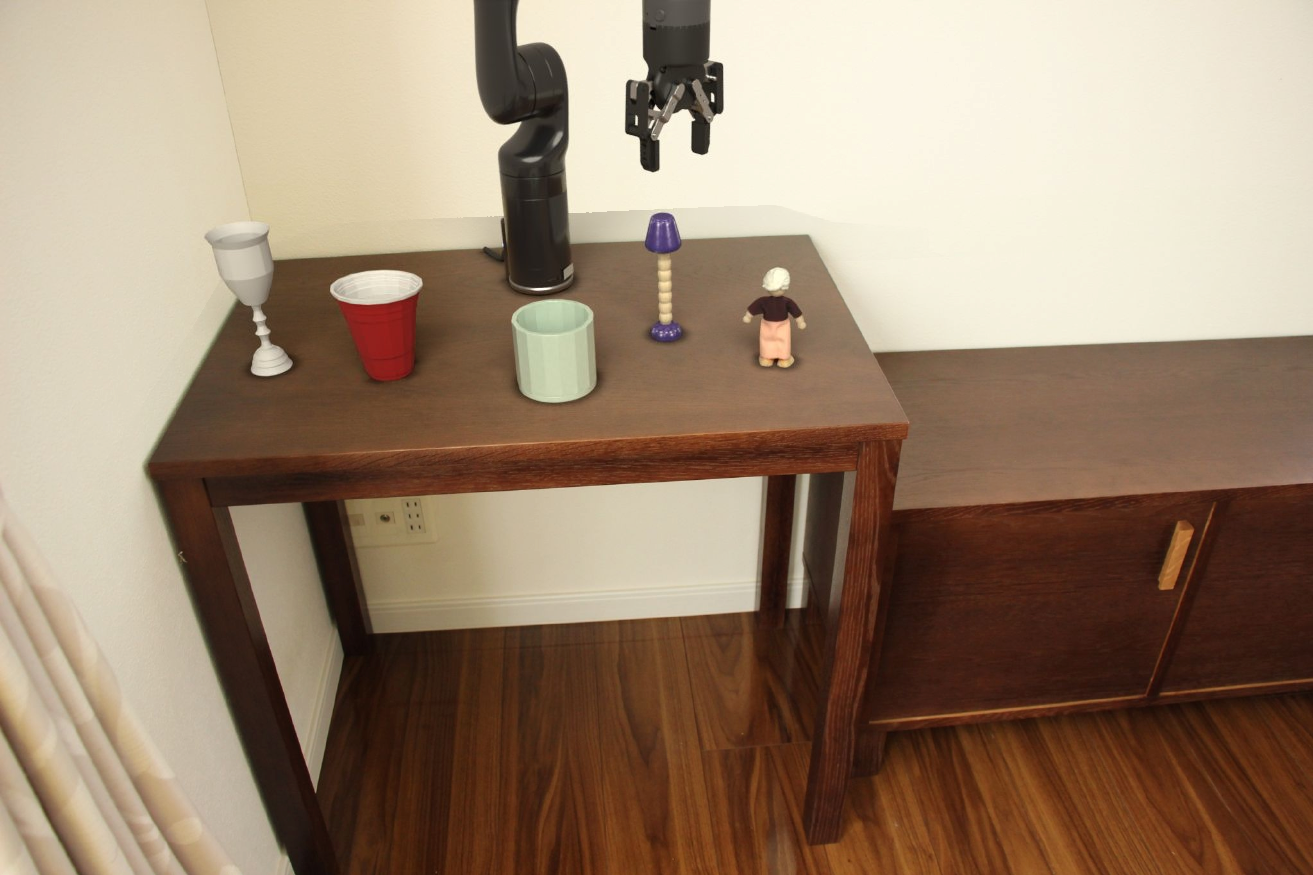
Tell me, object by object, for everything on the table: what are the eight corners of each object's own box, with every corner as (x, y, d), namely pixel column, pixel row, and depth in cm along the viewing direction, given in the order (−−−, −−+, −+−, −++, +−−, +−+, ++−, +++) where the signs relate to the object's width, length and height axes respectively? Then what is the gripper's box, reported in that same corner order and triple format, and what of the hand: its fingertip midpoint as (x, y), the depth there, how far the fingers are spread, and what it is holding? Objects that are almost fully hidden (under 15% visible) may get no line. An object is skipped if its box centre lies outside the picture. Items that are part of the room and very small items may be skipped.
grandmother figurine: (800, 354, 127) (807, 262, 120) (803, 368, 124) (811, 275, 117) (740, 354, 127) (744, 262, 120) (742, 369, 124) (746, 275, 117)
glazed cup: (502, 383, 121) (495, 317, 116) (561, 356, 127) (556, 292, 122) (554, 411, 116) (548, 343, 111) (612, 381, 121) (610, 315, 116)
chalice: (245, 384, 122) (207, 247, 112) (237, 361, 127) (200, 228, 117) (306, 370, 125) (274, 235, 115) (296, 348, 130) (264, 217, 120)
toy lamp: (678, 345, 129) (678, 223, 120) (643, 342, 130) (640, 221, 121) (684, 328, 133) (684, 209, 124) (650, 325, 134) (648, 207, 125)
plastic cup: (451, 356, 127) (438, 269, 121) (406, 396, 119) (391, 306, 112) (378, 343, 130) (362, 259, 124) (330, 383, 122) (310, 294, 115)
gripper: (694, 2, 115) (692, 142, 124) (605, 21, 106) (610, 169, 115) (744, 11, 110) (738, 154, 119) (656, 31, 102) (656, 184, 111)
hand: (675, 161), depth 117 cm, fingers open, 8 cm apart
